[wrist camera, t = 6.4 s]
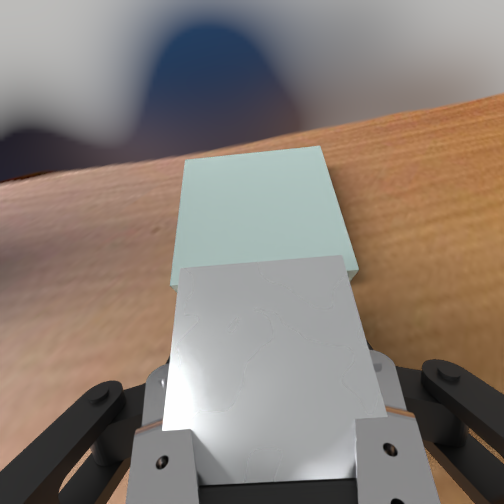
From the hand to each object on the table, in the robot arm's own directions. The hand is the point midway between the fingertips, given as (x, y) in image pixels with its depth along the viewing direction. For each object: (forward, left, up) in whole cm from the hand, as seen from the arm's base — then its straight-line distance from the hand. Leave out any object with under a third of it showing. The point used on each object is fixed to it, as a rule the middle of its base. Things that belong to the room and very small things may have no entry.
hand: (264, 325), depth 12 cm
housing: (0, -2, -4) cm, 5 cm away
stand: (0, +9, -4) cm, 10 cm away
